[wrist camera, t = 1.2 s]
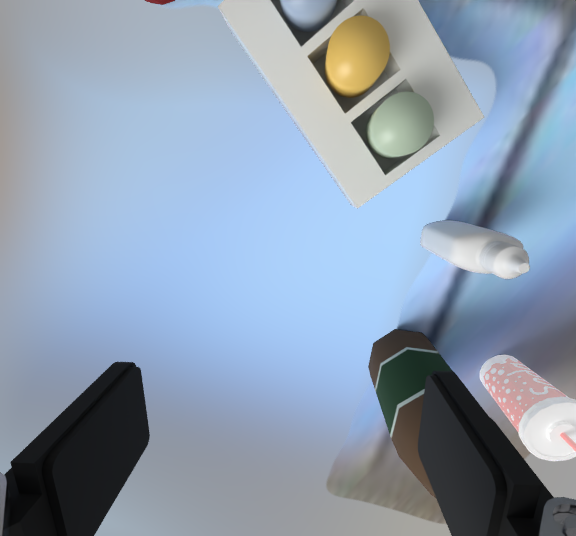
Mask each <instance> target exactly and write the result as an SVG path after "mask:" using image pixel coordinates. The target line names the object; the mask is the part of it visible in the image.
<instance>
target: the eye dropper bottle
mask: <svg viewBox="0 0 576 536" xmlns="http://www.w3.org/2000/svg"><path fill="white" fill-rule="evenodd" d="M420 243H421V246H422V247H424V248H425V249H427V250H428V251H430V252H432V253H434V254H435V255H437V256H439V257H440V258H442V259H444V260H446V261H447V262H449V263H451V264H453V265H455V266H457V267H459V268H462V269H464V270H468V271H471V272H476V273H484V274H491V273H492V274H494V275H496V276H498V277H501V278H503V279H513V278H515V277H518V276H520V275H521V274H522V273H526V272H528V271H529V269H530V266H529V257H528V254H527V252H526V251H525V250H524V249H523V244H522V243H521V242H520V241H519V240H517V239H516V238H514V237H512V236H509V235H507V234H504V233H501V232H497V231H494V230H490V229H486V228H483V227H479V226H475V225H472V224H468V223H464V222H460V221H453V220H444V221H437V222H433V223H430V224H427V225H425V226H424V227H423V230H422V235H421V241H420Z"/></svg>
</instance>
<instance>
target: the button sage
mask: <svg viewBox="0 0 576 536" xmlns="http://www.w3.org/2000/svg"><path fill="white" fill-rule="evenodd" d="M433 126H434V115H433V111H432V108H431V106H430V104H429V103H428V101H427V100H426V99H425V98H424V97H422V96H421V95H419V94H417V93H414V92H407V91H406V92H399V93H396V94H394V95H392V96H390V97H389V98H387V99H386V100H385V101H384V102H383V103H382V104H381V105H380V106H379V107H378V108H377V109H376V110H375V111H374V112H373V113H372V115H371V116H370V118H369V120H368V122H367V125H366V131H365V135H366V140H367V143H368V145H369V147H370V149H371V150H372V151H373V152H374V153H375V154H377V155H378V156H381V157H384V158H396V157H400V156H404V155H408V154H411V153H414V152H416V151H417V150H419V149H420V148H421V147H423V145H424V144H425V143H426V142H427V141H428V139H429V137H430V135H431V133H432V130H433Z"/></svg>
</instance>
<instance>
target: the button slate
mask: <svg viewBox="0 0 576 536" xmlns="http://www.w3.org/2000/svg"><path fill="white" fill-rule="evenodd" d="M336 2H337V0H280V4H281V9H282V13H283V15H284V17H285V19H286V20H287V22H288V23H289V24H290V25H291V26H292V27H293V28H295V29H297V30H299V31H303V32H312V31H316V30H318V29H320V28H322V27H323V26H324V25H325V24H327V23H328V21H329V20H330V19H331V17H332V15H333V13H334V10H335V7H336Z"/></svg>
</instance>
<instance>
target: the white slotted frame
mask: <svg viewBox="0 0 576 536" xmlns="http://www.w3.org/2000/svg"><path fill="white" fill-rule="evenodd" d="M218 8H219V9H220V11H221V13H222V15H223V17H224V19H225V21H226V23H227V25H228V27H229V29H230V31H231V33H232V34H233V36H234V37H235V38H236V40H237V41H238V43H239V44H240V46H241V47H242V48H243V50H244V51H245V53H246V54H247V56H248V57H249V59H250V60H251V61H252V63H253V64H254V66H255V67H256V69H257V70H258V72H259V73H260V74H261V76H262V77H263V79H264V80H265V82H266V83H267V85H268V86H269V88H270V89H271V90H272V92H273V93H274V95H275V96H276V98H277V99H278V100H279V102H280V103H281V105H282V106H283V108H284V109H285V111H286V112H287V113H288V115H289V116H290V118H291V119H292V121H293V122H294V124H295V125H296V126H297V128H298V129H299V131H300V132H301V134H302V135H303V137H304V138H305V139H306V141H307V142H308V144H309V145H310V147H311V148H312V150H313V151H314V152H315V154H316V155H317V157H318V158H319V160H320V161H321V163H322V164H323V165H324V167H325V168H326V170H327V171H328V173H329V174H330V175H331V176H332V178H333V180H334V181H335V183H336V184H337V186H338V187H339V188H340V190H341V191H342V193H343V194H344V196H345V197H346V198H347V200H348V201H349V203H350V204H351V205H352V206H354V207H356V208H359V207H360V206H362V205H363V204H364V203H366V202H367V201H369V200H370V199H371V198H373V197H374V196H376V195H377V194H378V193H380V192H381V191H382V190H384V189H385V188H387V187H388V186H389V185H391V184H392V183H394V182H395V181H396V180H398V179H399V178H400V177H402V176H403V175H405V174H406V173H407V172H409V171H410V170H412V169H413V168H415V167H416V166H417V165H419V164H420V163H421V162H423V161H424V160H426V159H427V158H428V157H430V156H431V155H433V154H434V153H435V152H437V151H438V150H440V149H441V148H442V147H444V146H445V145H447V144H448V143H449V142H451V141H452V140H453V139H455V138H456V137H458V136H459V135H460V134H462V133H463V132H465V131H466V130H467V129H469V128H470V127H472V126H473V125H474V124H476V123H477V122H478V121H480V120H481V119H483V118H484V115H483V114H482V112H481V110H480V109H479V107H478V105H477V103H476V102H475V100H474V98H473V96H472V94H471V93H470V91H469V89H468V87H467V86H466V84H465V82H464V80H463V79H462V77H461V75H460V74H459V71H458V70H457V68H456V66H455V65H454V63H453V61H452V59H451V57H450V56H449V54H448V52H447V50H446V49H445V47H444V45H443V43H442V42H441V40H440V38H439V36H438V34H437V33H436V31H435V29H434V27H433V26H432V24H431V22H430V20H429V19H428V17H427V15H426V13H425V12H424V10H423V8H422V6H421V5H420V3H419V1H418V0H337V2H336V7H335V10H334V13H333V15H332V17H331V19H330V20H329V21H328V23H327V24H325V25H324V26H323V27H322V28H320V29H318V30H316V31H312V32H303V31H299V30H297V29H295V28H293V27H292V26H291V25H290V24H289V23H288V22H287V20H286V19H285V17H284V15H283V13H282V9H281V4H280V0H224V1H223V2H222V3H221V4H220V5H219V6H218ZM360 15H361V16H368V17H371V18H373V19H375V20H377V21H378V22H379V23H380V24H381V25H382V26H383V27H384V29H385V31H386V32H387V35H388V38H389V42H390V54H389V59H388V62H387V64H386V67H385V68H384V70H383V72H382V73H381V74H380V76H379V77H378V79H377V80H376V81H375V83H374V84H373V86H372V87H371V88H370V89H369V90H368V91H367V92H366V93H364V94H362V95H360V96H358V97H353V98H347V97H343V96H340V95H338V94H337V93H335V92H334V91H333V90H332V89H331V88H330V86H329V84H328V83H327V80H326V77H325V61H326V55H327V49H328V44H329V41H330V38H331V36H332V34H333V32H334V30H335V29H336V28H337V27H338V26H339V25H340V24H341V23H342V22H343V21H345V20H346V19H348V18H351V17H354V16H360ZM406 91H407V92H414V93H417V94H419V95H421V96H422V97H424V98H425V99H426V100H427V101H428V103H429V104H430V106H431V108H432V111H433V115H434V126H433V130H432V133H431V135H430V137H429V139H428V141H427V142H426V143H425V144H424V145H423V147H421V148H420V149H419V150H417V151H416V152H414V153H411V154H408V155H404V156H400V157H396V158H384V157H381V156H378V155H377V154H375V153H374V152H373V151H372V150H371V149H370V147H369V145H368V143H367V140H366V135H365V131H366V125H367V122H368V120H369V118H370V116H371V115H372V113H373V112H374V111H375V110H376V109H377V108H378V107H379V106H380V105H381V104H382V103H383V102H384V101H385V100H386V99H387V98H389V97H390V96H392V95H394V94H396V93H399V92H406Z"/></svg>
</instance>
